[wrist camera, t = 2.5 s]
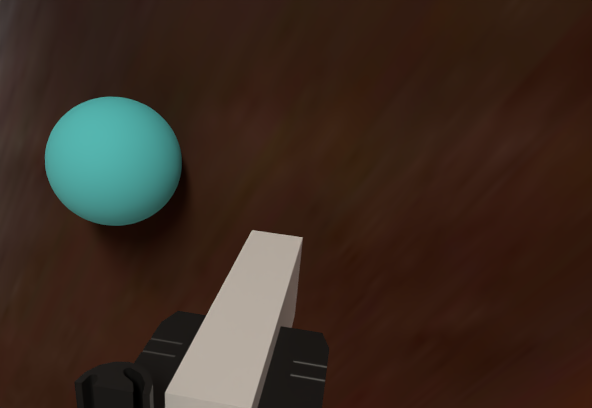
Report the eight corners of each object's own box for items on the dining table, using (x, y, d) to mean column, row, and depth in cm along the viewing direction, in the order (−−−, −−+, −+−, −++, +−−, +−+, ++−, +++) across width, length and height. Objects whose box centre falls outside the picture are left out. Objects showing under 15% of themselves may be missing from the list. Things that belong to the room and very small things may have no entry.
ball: (200, 94, 24) (147, 120, 19) (198, 205, 27) (151, 257, 21) (86, 81, 25) (4, 101, 19) (94, 190, 27) (23, 236, 22)
